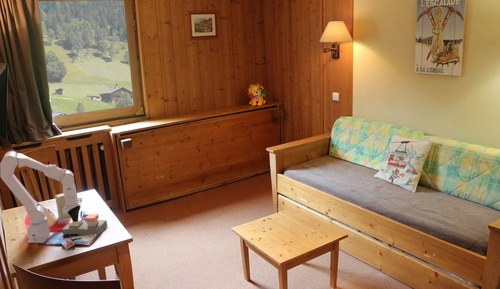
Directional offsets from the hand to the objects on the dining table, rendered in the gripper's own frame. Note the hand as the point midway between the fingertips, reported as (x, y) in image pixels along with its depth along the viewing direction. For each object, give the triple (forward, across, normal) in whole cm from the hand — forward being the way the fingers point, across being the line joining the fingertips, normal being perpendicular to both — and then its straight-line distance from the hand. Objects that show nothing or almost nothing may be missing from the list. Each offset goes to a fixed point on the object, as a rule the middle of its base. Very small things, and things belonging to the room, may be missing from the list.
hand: (75, 221), depth 210 cm
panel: (+5, 0, -4) cm, 7 cm away
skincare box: (+5, +16, +16) cm, 23 cm away
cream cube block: (+5, 0, 0) cm, 5 cm away
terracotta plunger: (+2, 0, -9) cm, 9 cm away
